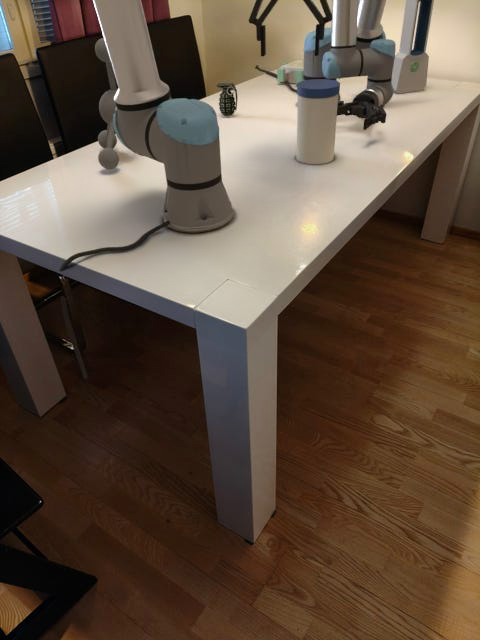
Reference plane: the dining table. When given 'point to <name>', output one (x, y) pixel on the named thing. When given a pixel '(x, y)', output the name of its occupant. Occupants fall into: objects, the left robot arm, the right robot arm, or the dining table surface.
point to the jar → (316, 129)
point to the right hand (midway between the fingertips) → (341, 122)
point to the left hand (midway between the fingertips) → (289, 55)
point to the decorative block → (291, 72)
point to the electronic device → (413, 62)
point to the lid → (318, 88)
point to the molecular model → (107, 112)
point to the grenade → (227, 99)
